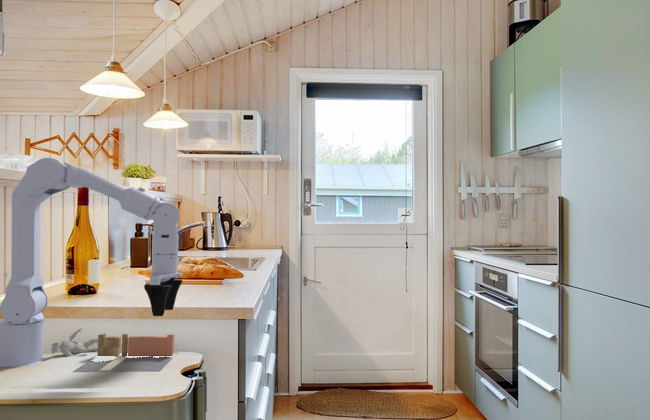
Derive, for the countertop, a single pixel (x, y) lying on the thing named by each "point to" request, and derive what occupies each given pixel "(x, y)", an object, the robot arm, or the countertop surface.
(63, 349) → the soldier figure
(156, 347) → the fence panel
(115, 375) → the countertop surface
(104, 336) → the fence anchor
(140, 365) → the board
